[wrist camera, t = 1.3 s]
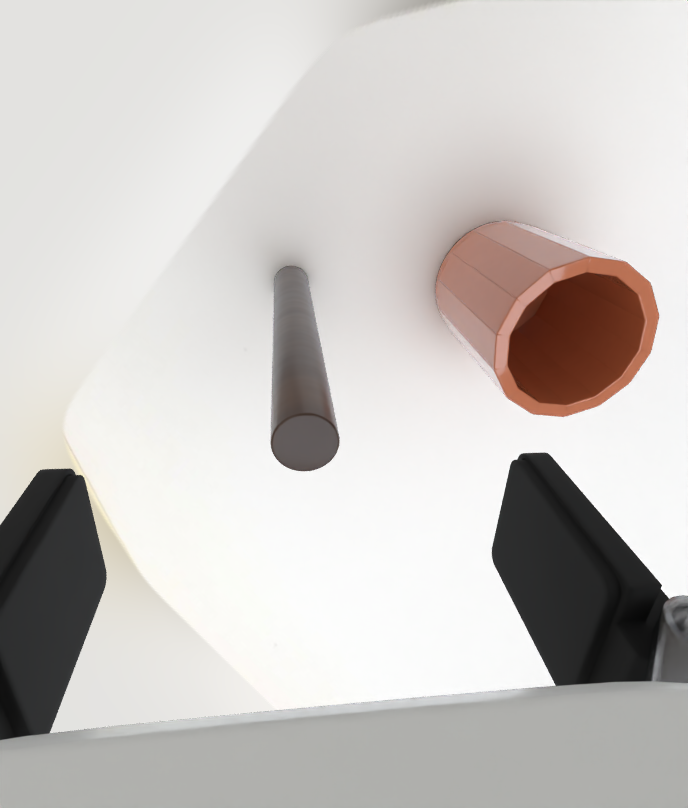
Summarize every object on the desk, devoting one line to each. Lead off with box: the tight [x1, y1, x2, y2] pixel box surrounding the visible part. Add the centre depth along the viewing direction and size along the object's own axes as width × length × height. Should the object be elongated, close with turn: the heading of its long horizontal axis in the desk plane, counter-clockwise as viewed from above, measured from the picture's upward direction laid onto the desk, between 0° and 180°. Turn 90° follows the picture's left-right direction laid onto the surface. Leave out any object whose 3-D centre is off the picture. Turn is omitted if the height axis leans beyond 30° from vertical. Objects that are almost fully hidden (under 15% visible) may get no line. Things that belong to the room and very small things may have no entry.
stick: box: [271, 266, 339, 471], centre depth 20 cm, size 2×2×16 cm
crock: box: [435, 221, 659, 417], centre depth 25 cm, size 7×7×9 cm
